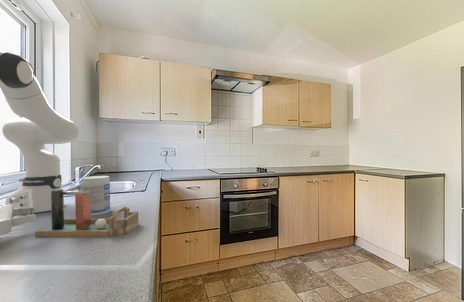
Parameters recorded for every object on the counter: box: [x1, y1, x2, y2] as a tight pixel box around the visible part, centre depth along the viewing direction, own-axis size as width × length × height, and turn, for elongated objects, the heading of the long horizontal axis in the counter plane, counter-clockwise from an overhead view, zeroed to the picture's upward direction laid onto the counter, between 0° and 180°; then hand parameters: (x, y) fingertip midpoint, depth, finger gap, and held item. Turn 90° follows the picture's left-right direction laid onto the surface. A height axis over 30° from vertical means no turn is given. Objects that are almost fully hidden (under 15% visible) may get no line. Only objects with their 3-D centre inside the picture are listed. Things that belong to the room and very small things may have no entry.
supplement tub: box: [80, 175, 111, 217], centre depth 84 cm, size 10×10×15 cm
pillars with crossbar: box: [50, 188, 92, 230], centre depth 66 cm, size 12×3×12 cm, turn 90°
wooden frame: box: [108, 205, 139, 237], centre depth 66 cm, size 4×11×7 cm, turn 179°
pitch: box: [34, 217, 124, 238], centre depth 67 cm, size 21×11×2 cm, turn 90°
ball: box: [95, 218, 107, 229], centre depth 66 cm, size 3×3×3 cm
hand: (35, 213), depth 63 cm, fingers open, 8 cm apart
